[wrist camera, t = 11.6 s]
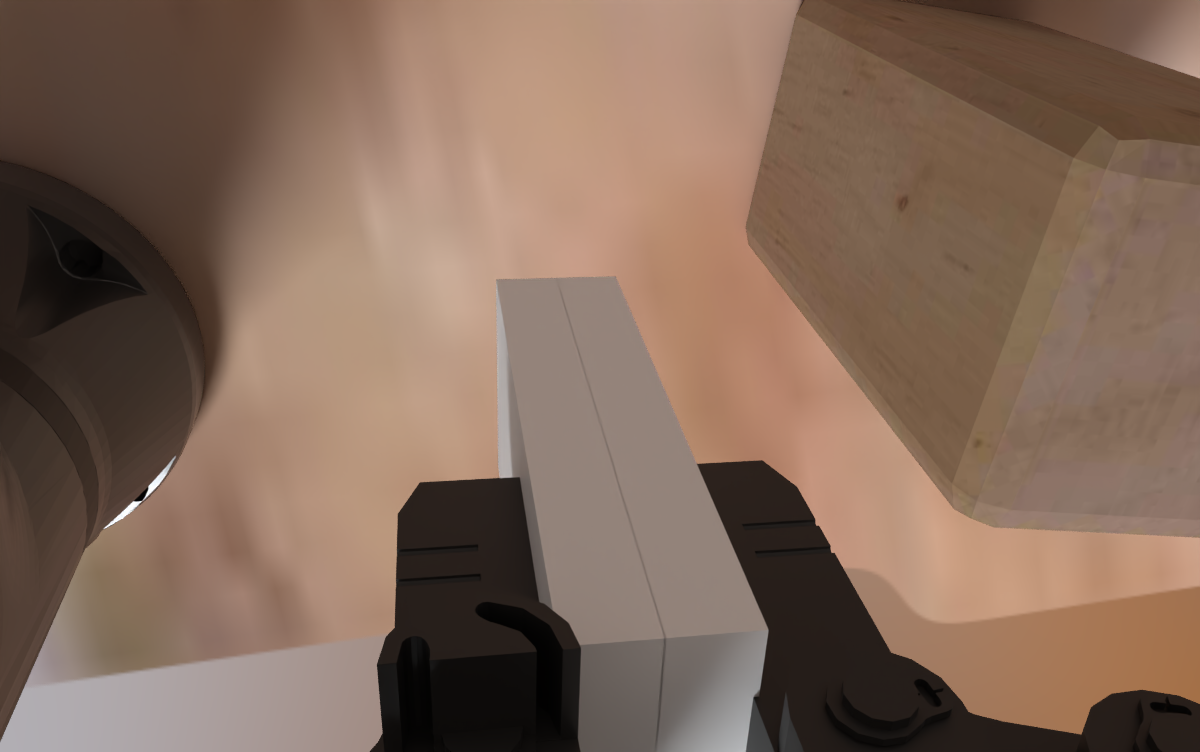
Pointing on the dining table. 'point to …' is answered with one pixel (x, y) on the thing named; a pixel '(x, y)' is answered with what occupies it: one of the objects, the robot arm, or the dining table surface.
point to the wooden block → (998, 255)
